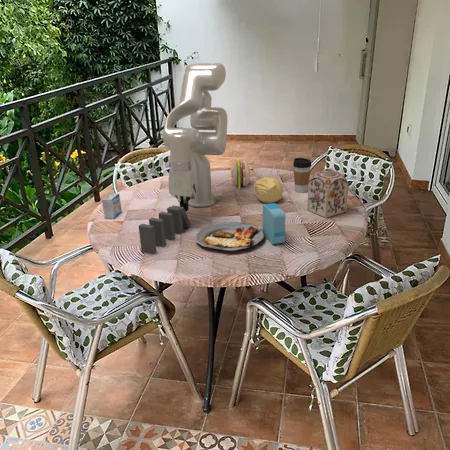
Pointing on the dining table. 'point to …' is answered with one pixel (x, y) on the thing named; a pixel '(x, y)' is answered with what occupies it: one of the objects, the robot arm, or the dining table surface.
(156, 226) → the domino
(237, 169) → the hamburger
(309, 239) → the dining table surface
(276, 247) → the dining table surface
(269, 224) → the light blue block
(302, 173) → the coffee cup
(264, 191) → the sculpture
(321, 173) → the decorative jar
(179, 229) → the domino
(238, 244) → the food plate
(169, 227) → the domino
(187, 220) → the domino
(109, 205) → the medicine box
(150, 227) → the domino
